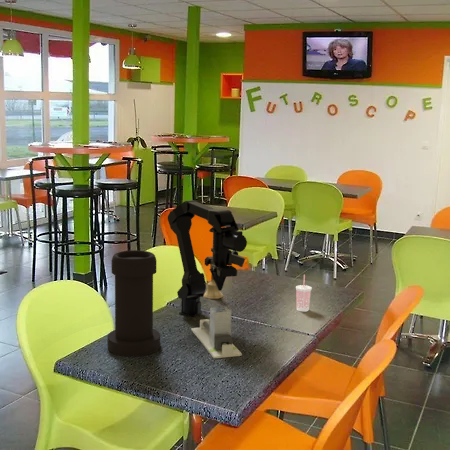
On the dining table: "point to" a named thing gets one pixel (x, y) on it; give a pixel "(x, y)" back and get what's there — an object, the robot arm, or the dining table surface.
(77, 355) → the dining table surface
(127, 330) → the pipe
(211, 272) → the robot arm
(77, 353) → the dining table surface
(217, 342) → the dark grey notched block
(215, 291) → the hand bell
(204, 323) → the steel pipe
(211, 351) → the base board
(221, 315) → the beige tall block
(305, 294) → the beverage cup
